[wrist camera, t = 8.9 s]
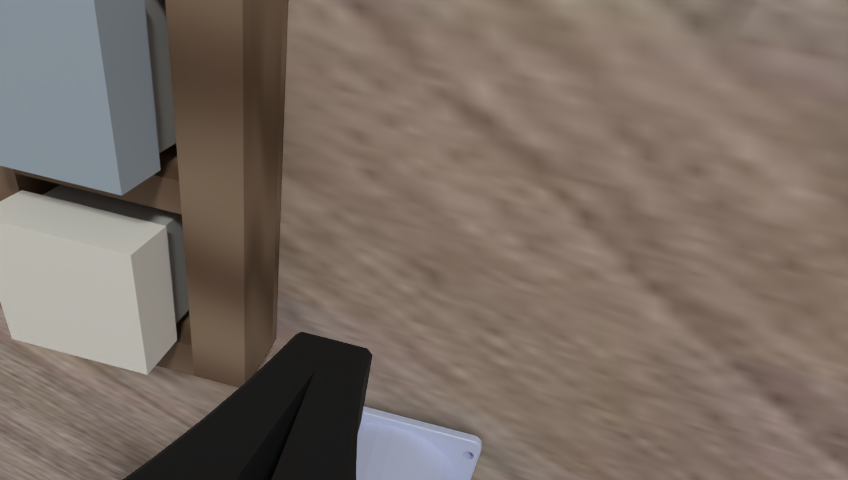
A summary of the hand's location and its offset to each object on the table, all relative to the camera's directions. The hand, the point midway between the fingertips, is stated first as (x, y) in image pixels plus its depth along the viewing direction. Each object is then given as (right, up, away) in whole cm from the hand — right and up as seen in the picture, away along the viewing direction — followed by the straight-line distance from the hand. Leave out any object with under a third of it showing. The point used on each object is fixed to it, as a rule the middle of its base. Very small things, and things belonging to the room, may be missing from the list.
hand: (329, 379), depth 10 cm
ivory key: (-9, +2, +10) cm, 14 cm away
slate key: (-8, +8, +7) cm, 13 cm away
